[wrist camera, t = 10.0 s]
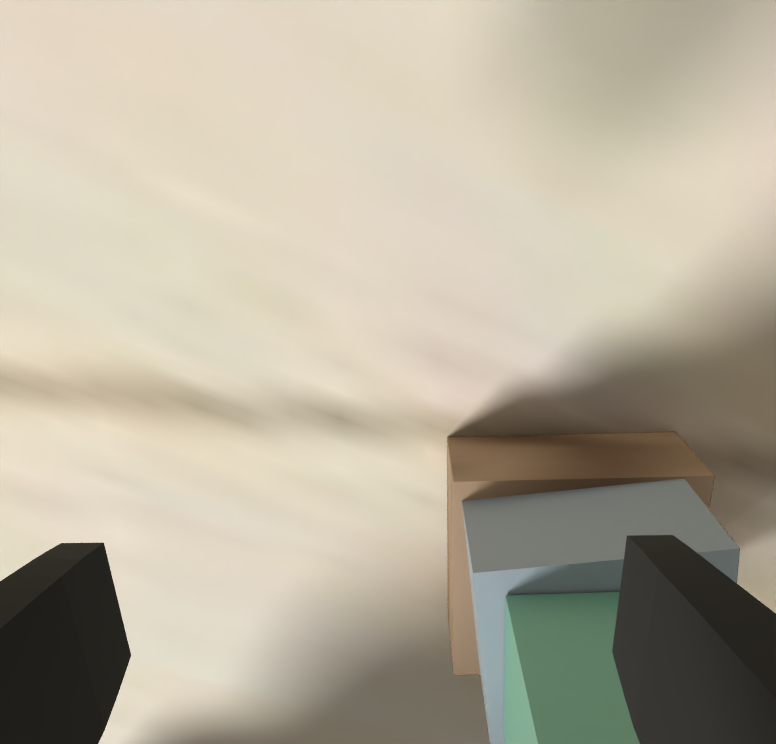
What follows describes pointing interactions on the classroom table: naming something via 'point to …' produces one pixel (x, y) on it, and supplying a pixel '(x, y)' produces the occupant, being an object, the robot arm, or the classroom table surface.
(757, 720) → the robot arm
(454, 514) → the walnut base block
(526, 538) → the slate-grey block
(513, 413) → the classroom table surface
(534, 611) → the light green block
